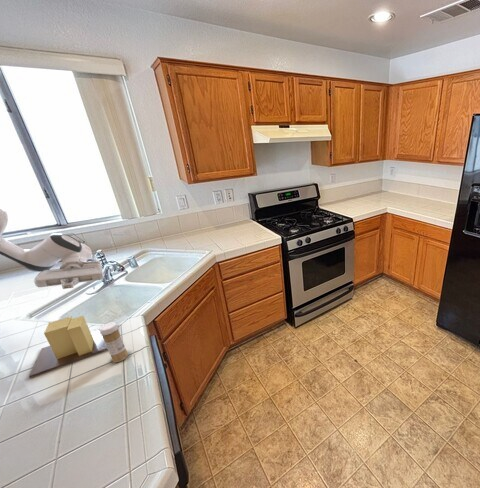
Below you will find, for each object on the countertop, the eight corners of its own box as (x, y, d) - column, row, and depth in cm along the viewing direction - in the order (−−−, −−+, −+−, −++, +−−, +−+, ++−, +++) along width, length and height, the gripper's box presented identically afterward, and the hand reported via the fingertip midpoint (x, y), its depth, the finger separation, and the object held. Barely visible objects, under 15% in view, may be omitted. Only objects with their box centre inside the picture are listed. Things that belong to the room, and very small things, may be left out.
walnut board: (29, 378, 84) (28, 376, 84) (42, 349, 96) (41, 348, 96) (114, 347, 96) (113, 345, 95) (116, 326, 108) (115, 324, 108)
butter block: (57, 359, 90) (43, 333, 87) (61, 347, 96) (49, 322, 92) (79, 351, 94) (67, 325, 90) (82, 340, 99) (71, 316, 95)
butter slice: (79, 355, 91) (66, 329, 88) (82, 343, 97) (70, 319, 94) (91, 351, 93) (80, 325, 89) (93, 340, 99) (83, 315, 95)
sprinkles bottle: (124, 351, 93) (111, 320, 89) (131, 355, 91) (119, 323, 87) (109, 360, 90) (95, 328, 85) (116, 364, 88) (103, 331, 83)
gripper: (37, 265, 104) (25, 284, 94) (104, 259, 115) (99, 276, 105) (42, 278, 107) (31, 298, 96) (106, 271, 117) (102, 289, 107)
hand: (67, 287), depth 101 cm, fingers closed
